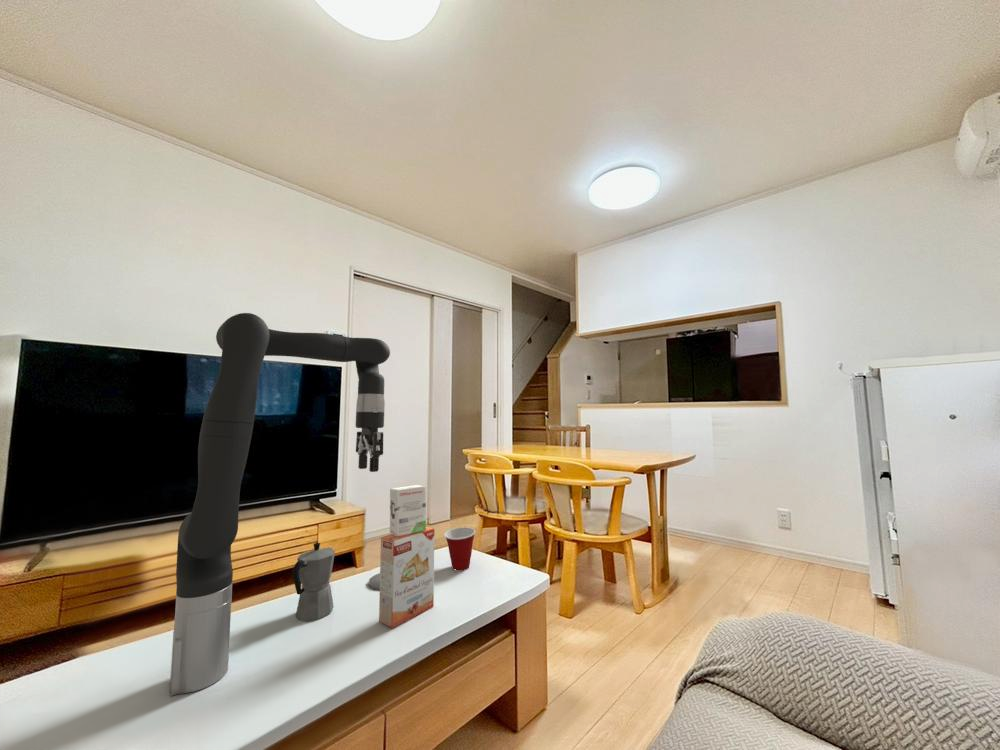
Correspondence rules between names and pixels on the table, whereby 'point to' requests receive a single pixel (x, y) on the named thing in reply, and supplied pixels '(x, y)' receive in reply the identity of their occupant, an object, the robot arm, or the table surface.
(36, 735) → the table surface
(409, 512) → the ink box
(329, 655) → the table surface
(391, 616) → the cracker box
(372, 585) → the glossy grey dome
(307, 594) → the coffeepot
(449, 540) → the plastic cup
